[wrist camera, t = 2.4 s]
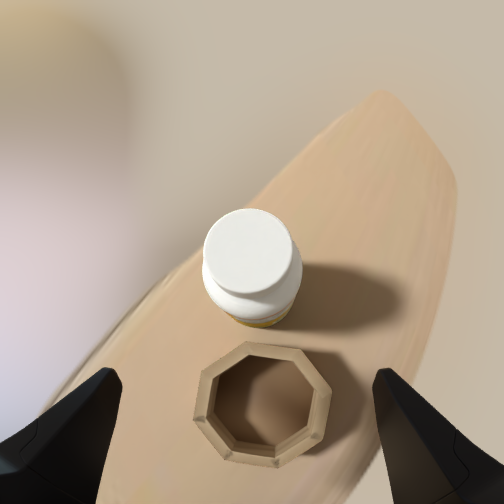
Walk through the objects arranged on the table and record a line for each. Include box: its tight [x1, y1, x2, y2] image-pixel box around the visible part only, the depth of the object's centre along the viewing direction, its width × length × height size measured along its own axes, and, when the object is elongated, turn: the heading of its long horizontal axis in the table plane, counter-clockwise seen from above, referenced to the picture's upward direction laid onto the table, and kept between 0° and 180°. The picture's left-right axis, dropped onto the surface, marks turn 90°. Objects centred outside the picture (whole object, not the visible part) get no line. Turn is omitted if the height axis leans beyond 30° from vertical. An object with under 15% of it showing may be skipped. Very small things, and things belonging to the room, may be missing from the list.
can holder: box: [193, 342, 333, 468], centre depth 17 cm, size 8×8×3 cm
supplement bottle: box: [202, 208, 303, 328], centre depth 17 cm, size 5×5×10 cm
